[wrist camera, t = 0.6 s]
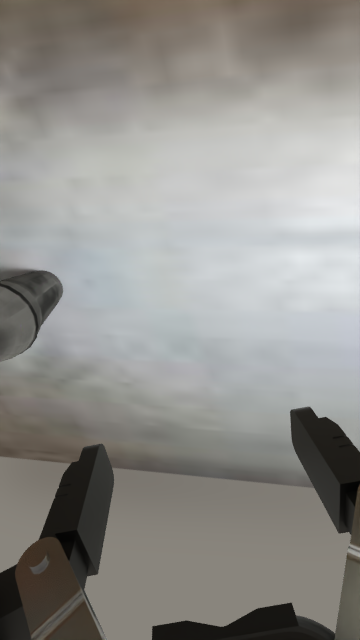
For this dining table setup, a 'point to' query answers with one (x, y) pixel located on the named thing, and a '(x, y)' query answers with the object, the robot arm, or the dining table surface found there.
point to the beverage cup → (25, 309)
